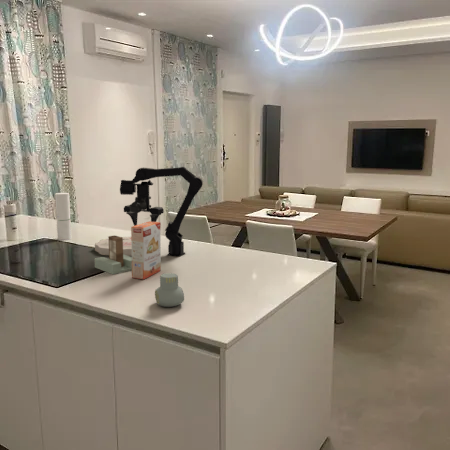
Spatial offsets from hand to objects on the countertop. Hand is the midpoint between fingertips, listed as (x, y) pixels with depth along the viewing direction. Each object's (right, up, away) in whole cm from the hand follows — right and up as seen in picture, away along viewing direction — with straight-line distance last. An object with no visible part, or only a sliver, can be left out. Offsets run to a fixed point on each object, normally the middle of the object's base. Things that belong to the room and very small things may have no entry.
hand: (143, 227), depth 214 cm
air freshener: (+20, -25, -63) cm, 71 cm away
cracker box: (+7, -19, -30) cm, 36 cm away
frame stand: (-8, -17, -21) cm, 28 cm away
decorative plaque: (-11, -11, +13) cm, 20 cm away
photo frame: (-8, -16, -21) cm, 28 cm away
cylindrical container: (-50, -6, +35) cm, 62 cm away
